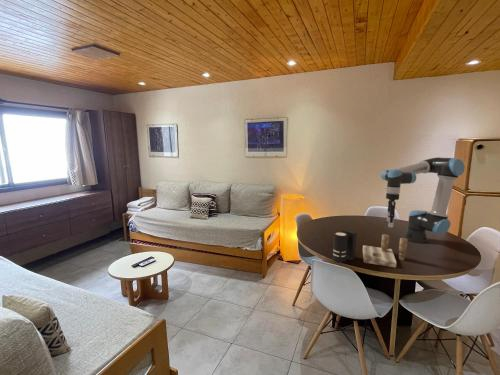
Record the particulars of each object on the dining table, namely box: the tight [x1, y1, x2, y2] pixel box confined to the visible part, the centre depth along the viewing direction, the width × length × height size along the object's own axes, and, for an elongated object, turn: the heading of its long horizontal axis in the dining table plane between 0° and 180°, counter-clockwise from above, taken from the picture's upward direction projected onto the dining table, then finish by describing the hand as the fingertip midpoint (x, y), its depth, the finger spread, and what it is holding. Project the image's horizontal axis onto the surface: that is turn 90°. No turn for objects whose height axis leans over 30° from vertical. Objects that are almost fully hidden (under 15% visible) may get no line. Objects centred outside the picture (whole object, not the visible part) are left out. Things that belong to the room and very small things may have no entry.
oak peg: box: [398, 237, 409, 261], centre depth 163 cm, size 4×4×14 cm
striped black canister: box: [332, 228, 357, 264], centre depth 163 cm, size 10×14×18 cm
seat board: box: [362, 233, 397, 268], centre depth 165 cm, size 18×22×14 cm
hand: (389, 224), depth 170 cm, fingers open, 13 cm apart
